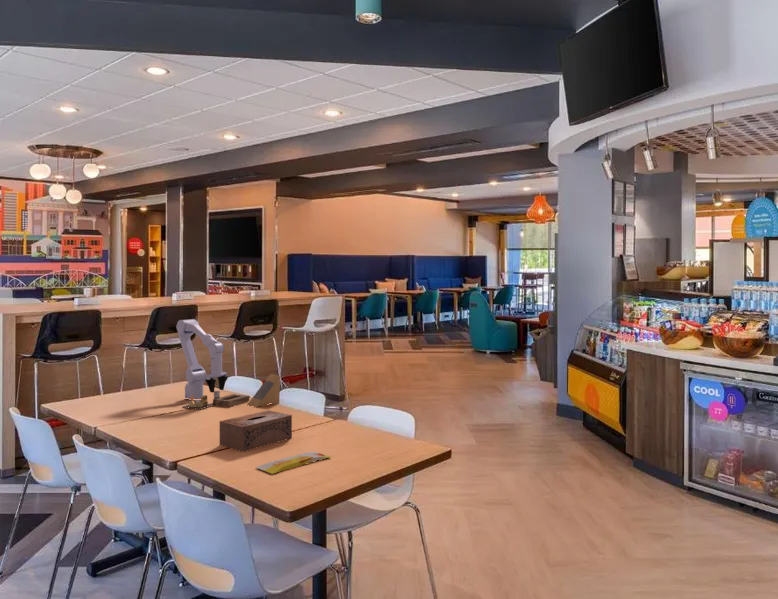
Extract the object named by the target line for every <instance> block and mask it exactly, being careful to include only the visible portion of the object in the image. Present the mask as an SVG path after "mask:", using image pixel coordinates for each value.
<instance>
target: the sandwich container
mask: <svg viewBox="0 0 778 599" xmlns="http://www.w3.org/2000/svg"><path fill="white" fill-rule="evenodd" d="M280 378H281V376H280V375H277V374H273V373H270V374H269V375H268V377H267V378H266V379H265V381H264V382H263V383H262V385H261V386H260V387H259V389H258V390H257V391H256V392H255V394H254V395H253V396H252V397H251V399H249V402H247V404H246V406H248V405H249V406H248V407H251V406H254V407H253V408H255V407H256V408H258V407H257V406H262V407H264V406H263V405H267V404H269V403H272V404H273V405H277V404H280V395H281V394H280V392H281V391H280V386H281V384H280V383H281V382H280ZM269 406H272V405H271V404H270V405H269Z"/></svg>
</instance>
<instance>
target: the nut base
mask: <svg viewBox="0 0 778 599" xmlns="http://www.w3.org/2000/svg"><path fill="white" fill-rule="evenodd" d="M190 401H193V395H191V400H190ZM196 402H201V400H196ZM211 405H214V404H213V403H208V405H207V406H211ZM207 406H203V407H190V406H189V404H187V405H186V404H185V405H183V406H182V407H189V408H196V409H195V410H197V409H200V410H202V409H201V408H204V407H207ZM214 406H215V405H214ZM211 407H212V406H211ZM189 408H188V409H189ZM207 408H208V407H207ZM204 409H205V408H204Z"/></svg>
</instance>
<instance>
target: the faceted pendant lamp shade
mask: <svg viewBox="0 0 778 599" xmlns="http://www.w3.org/2000/svg"><path fill="white" fill-rule="evenodd" d="M208 404H209V403H208V395H207V394H203V396H201V402H196V400H193V401H191V400H188V405H189V406H190V407H203V406H207V405H208Z"/></svg>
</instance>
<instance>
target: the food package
mask: <svg viewBox="0 0 778 599" xmlns="http://www.w3.org/2000/svg"><path fill="white" fill-rule="evenodd" d="M326 458H328V459H330V458H331V456H330V455H327V454H324V453H320V452H318V451H309V452H308V451H307V452H304V453H299V454H296V455H292V456H289V457H288V456H287V457H284V458H280V459H276V460H273V461H270V462H267V463H264V464H261V465H258V466H256V467H255V468H256V469H258V470H260V471H264V472H266V473H269V474H271V475H273V474H278V473H277V472H279V473H281V472H280V471H282V472H284V471H283V470H285V471H287V470H286V469H288V470H291V469H290V468H292V469H294V468H293V467H295V468H297V467H296V466H299V467H301V466H300V465H302V466H304V465H303V464H306V463H310V462H313V461H317V460H321V459H325V460H327V459H326ZM321 461H322V460H321ZM317 462H318V461H317ZM313 463H314V462H313ZM310 464H311V463H310ZM306 465H307V464H306Z"/></svg>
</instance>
